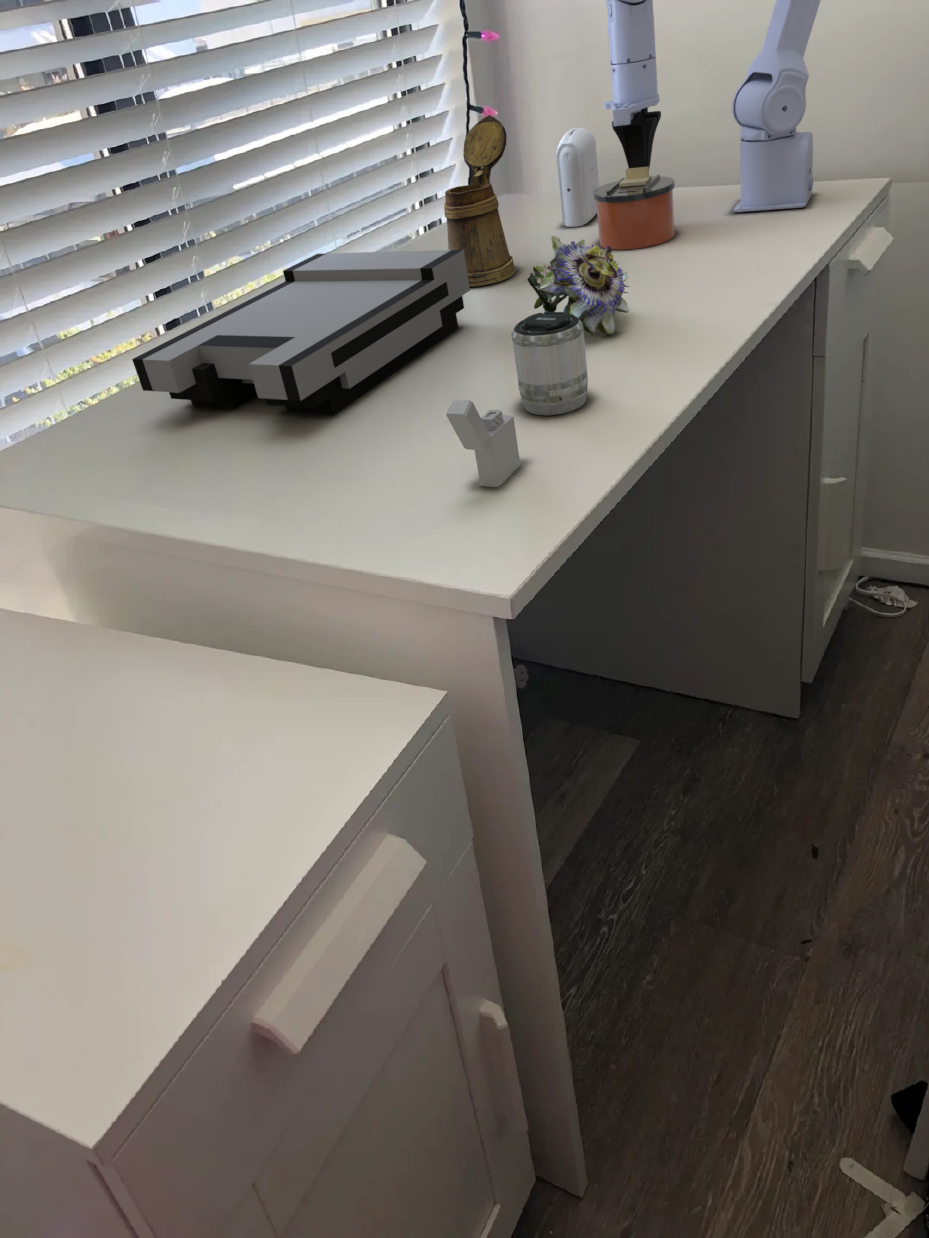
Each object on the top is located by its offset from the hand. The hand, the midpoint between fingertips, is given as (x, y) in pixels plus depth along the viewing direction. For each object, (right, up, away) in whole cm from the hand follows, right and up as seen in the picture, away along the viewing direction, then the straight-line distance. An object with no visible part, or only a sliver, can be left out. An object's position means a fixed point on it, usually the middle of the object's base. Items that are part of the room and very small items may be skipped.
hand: (639, 175), depth 134 cm
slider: (-1, -2, -1) cm, 2 cm away
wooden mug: (-20, -13, -1) cm, 24 cm away
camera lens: (-15, -40, -43) cm, 61 cm away
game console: (-39, -32, -24) cm, 56 cm away
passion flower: (-11, -29, -26) cm, 40 cm away
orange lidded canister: (0, -8, +1) cm, 8 cm away
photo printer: (-6, +1, +17) cm, 18 cm away
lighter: (-21, -49, -54) cm, 76 cm away
